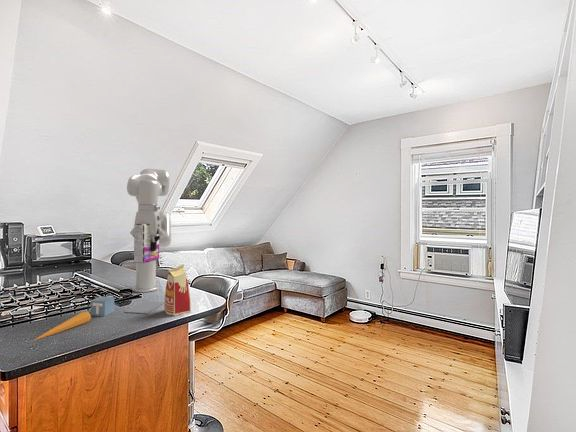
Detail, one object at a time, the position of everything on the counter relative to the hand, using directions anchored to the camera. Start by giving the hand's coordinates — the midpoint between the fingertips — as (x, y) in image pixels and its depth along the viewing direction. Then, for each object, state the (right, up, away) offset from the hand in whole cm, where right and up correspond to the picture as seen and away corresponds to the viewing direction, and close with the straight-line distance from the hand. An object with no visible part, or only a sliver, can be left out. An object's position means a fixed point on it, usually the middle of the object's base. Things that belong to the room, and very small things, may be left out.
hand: (146, 250), depth 139 cm
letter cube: (-15, -25, -8) cm, 30 cm away
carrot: (-18, -26, -26) cm, 41 cm away
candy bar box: (0, -5, 0) cm, 5 cm away
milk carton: (+14, -26, -3) cm, 30 cm away
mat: (-1, -25, +1) cm, 25 cm away
